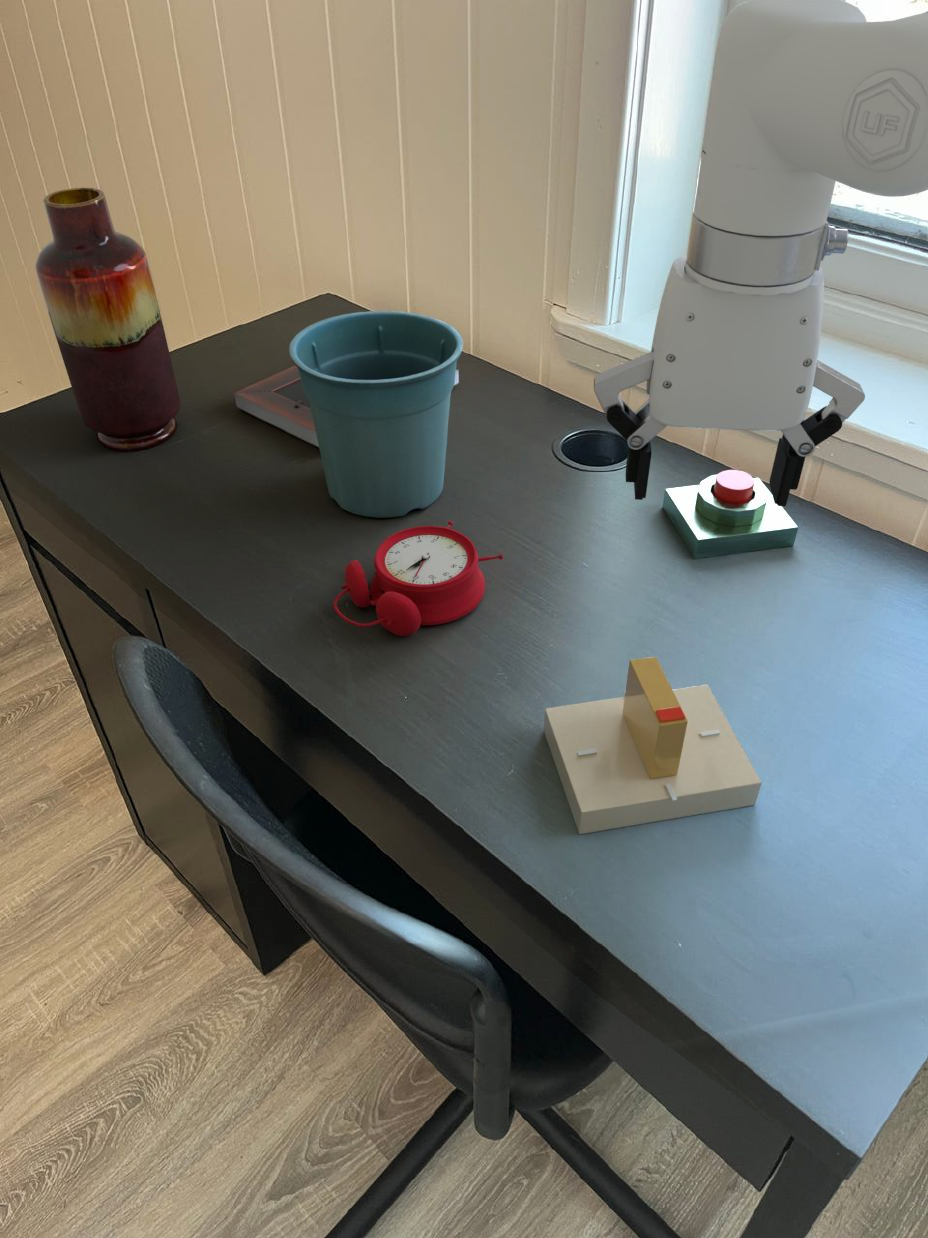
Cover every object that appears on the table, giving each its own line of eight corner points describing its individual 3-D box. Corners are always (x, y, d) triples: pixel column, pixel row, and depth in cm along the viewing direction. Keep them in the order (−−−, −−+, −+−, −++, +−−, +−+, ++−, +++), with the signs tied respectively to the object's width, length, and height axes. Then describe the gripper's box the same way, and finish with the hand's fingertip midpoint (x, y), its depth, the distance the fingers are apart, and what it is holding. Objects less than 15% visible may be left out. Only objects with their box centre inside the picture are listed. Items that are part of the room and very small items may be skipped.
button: (742, 483, 93) (745, 467, 92) (757, 502, 90) (761, 487, 89) (707, 487, 92) (710, 471, 91) (721, 507, 90) (724, 491, 88)
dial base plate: (701, 703, 75) (706, 679, 73) (757, 809, 67) (764, 785, 65) (542, 727, 73) (543, 703, 72) (580, 839, 65) (583, 815, 64)
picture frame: (366, 350, 126) (237, 410, 113) (365, 332, 124) (233, 390, 112) (459, 386, 117) (330, 455, 105) (458, 367, 116) (327, 435, 103)
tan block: (622, 713, 71) (629, 657, 67) (647, 709, 71) (656, 653, 67) (650, 779, 66) (659, 722, 62) (677, 775, 66) (688, 718, 62)
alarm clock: (518, 555, 84) (385, 596, 75) (506, 614, 87) (377, 660, 78) (443, 507, 90) (311, 539, 81) (434, 564, 93) (306, 601, 84)
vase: (168, 400, 116) (113, 172, 99) (199, 438, 108) (146, 200, 91) (77, 425, 111) (3, 191, 94) (103, 466, 104) (28, 221, 87)
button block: (754, 495, 98) (762, 462, 95) (793, 545, 91) (802, 511, 88) (662, 507, 96) (667, 473, 94) (694, 558, 89) (701, 523, 87)
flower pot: (395, 432, 109) (385, 295, 98) (497, 486, 100) (498, 341, 89) (278, 488, 100) (254, 343, 90) (378, 552, 91) (364, 400, 81)
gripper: (888, 229, 58) (822, 469, 69) (604, 223, 59) (585, 459, 71) (921, 275, 52) (843, 529, 63) (606, 267, 54) (584, 516, 65)
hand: (707, 492), depth 67 cm, fingers open, 9 cm apart
